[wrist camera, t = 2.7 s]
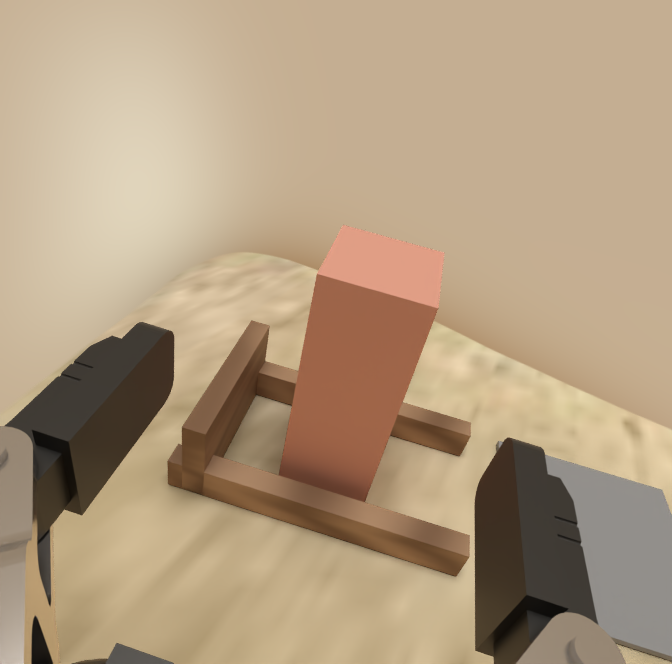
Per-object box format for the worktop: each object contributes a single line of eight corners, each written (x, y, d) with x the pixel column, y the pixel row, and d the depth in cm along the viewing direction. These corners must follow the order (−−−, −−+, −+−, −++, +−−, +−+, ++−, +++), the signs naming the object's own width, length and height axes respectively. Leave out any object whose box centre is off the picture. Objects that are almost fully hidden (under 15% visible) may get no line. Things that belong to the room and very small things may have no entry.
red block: (375, 442, 32) (444, 252, 24) (361, 508, 28) (438, 308, 20) (301, 420, 32) (343, 225, 24) (277, 482, 28) (316, 273, 20)
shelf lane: (460, 442, 33) (487, 389, 30) (456, 576, 26) (491, 523, 23) (234, 374, 35) (239, 316, 32) (168, 483, 27) (166, 422, 24)
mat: (658, 493, 33) (662, 489, 33) (724, 678, 24) (730, 675, 24) (496, 444, 34) (498, 441, 34) (503, 607, 25) (507, 603, 25)
